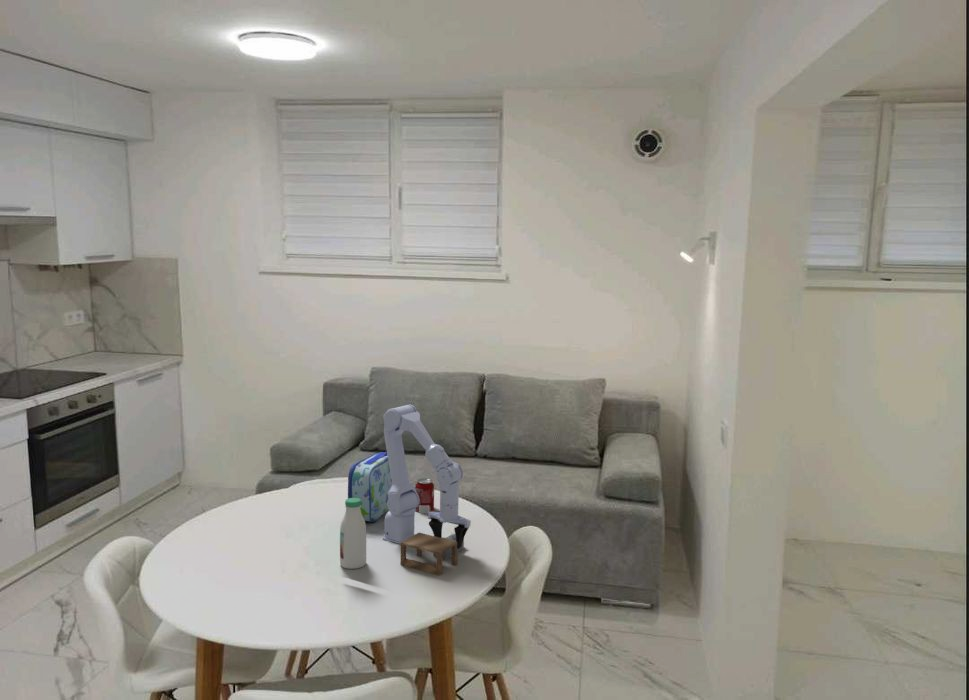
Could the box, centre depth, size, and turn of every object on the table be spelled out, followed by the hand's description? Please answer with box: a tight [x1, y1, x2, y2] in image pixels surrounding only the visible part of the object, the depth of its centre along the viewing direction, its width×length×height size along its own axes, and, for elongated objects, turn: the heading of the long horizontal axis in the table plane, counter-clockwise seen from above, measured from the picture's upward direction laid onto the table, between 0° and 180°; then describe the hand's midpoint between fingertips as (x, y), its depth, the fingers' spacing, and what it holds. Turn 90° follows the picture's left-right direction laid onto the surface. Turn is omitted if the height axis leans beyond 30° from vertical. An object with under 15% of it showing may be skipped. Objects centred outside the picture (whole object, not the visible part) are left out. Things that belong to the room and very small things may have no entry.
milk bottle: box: [339, 498, 367, 570], centre depth 221 cm, size 8×8×20 cm
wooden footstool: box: [400, 532, 458, 577], centre depth 223 cm, size 14×10×7 cm
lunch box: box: [347, 451, 392, 523], centre depth 265 cm, size 26×11×21 cm, turn 164°
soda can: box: [414, 478, 435, 514], centre depth 267 cm, size 7×7×12 cm
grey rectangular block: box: [432, 531, 465, 560], centre depth 232 cm, size 4×10×6 cm, turn 147°
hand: (448, 544), depth 232 cm, fingers open, 7 cm apart
